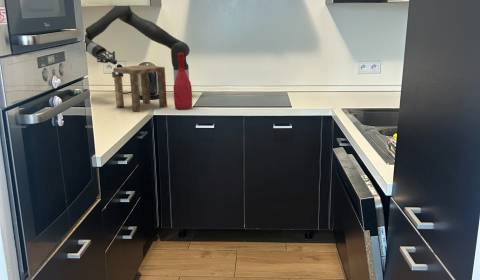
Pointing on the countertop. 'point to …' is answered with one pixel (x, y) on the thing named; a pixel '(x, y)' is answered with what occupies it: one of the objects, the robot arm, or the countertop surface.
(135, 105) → the walnut stool
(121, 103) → the oak leg
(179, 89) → the red bottle
